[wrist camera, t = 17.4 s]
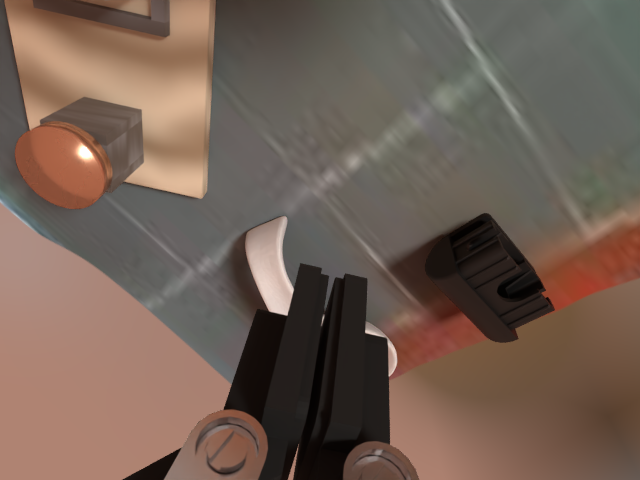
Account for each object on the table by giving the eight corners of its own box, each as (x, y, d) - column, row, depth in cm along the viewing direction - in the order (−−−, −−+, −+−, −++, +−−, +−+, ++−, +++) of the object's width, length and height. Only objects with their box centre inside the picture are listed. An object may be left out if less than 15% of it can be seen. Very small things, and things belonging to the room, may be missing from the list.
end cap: (420, 246, 44) (426, 290, 39) (483, 206, 41) (500, 248, 36) (476, 305, 48) (489, 354, 42) (538, 273, 45) (561, 321, 39)
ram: (65, 91, 36) (6, 119, 30) (142, 108, 36) (97, 139, 31) (75, 161, 40) (24, 198, 34) (145, 177, 40) (105, 216, 34)
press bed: (-21, -214, 28) (-133, -257, 22) (223, -157, 29) (180, -184, 22) (46, 155, 43) (-10, 191, 37) (206, 191, 43) (178, 232, 37)
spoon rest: (412, 353, 53) (416, 405, 47) (327, 378, 57) (321, 428, 51) (313, 198, 43) (302, 239, 37) (218, 241, 47) (195, 285, 41)
